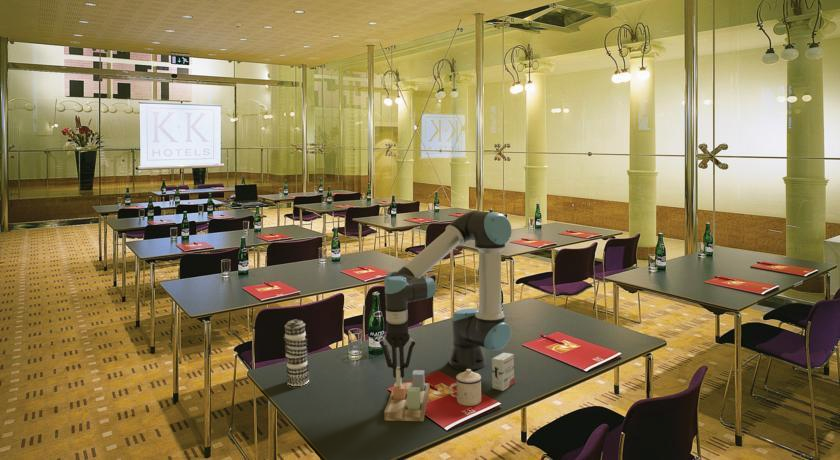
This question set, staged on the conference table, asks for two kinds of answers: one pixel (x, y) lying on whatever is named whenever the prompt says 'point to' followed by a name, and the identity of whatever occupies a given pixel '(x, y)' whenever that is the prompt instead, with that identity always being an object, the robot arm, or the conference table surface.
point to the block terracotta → (399, 392)
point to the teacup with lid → (467, 388)
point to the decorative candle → (296, 353)
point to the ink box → (502, 371)
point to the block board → (406, 407)
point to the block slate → (419, 379)
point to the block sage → (413, 398)
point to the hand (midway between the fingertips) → (399, 385)
